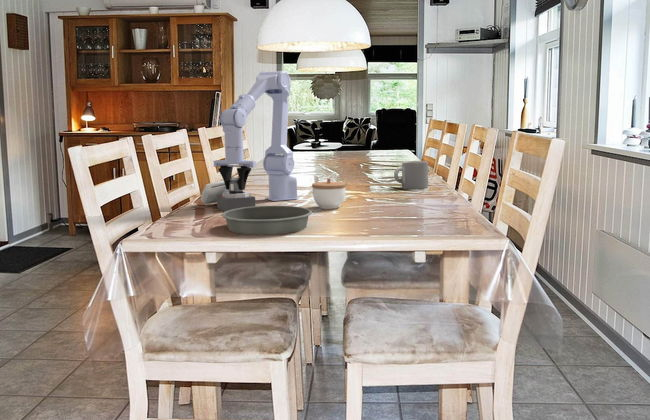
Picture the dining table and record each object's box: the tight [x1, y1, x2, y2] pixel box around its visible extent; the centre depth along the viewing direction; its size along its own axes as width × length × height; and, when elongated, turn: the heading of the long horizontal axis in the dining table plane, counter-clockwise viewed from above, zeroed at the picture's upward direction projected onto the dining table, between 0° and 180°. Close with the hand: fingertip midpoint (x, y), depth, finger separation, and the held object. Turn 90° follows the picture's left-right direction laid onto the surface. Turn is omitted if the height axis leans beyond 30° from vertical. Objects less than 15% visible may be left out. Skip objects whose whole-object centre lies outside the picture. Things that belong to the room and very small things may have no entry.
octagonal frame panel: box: [216, 190, 256, 212], centre depth 229 cm, size 10×9×5 cm
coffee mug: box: [393, 160, 429, 190], centre depth 275 cm, size 13×10×10 cm
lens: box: [229, 176, 244, 194], centre depth 228 cm, size 4×4×6 cm
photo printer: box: [200, 180, 229, 205], centre depth 236 cm, size 10×4×12 cm
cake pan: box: [221, 205, 313, 235], centre depth 195 cm, size 25×25×4 cm
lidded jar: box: [311, 177, 347, 210], centre depth 228 cm, size 11×11×9 cm
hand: (235, 189), depth 228 cm, fingers closed on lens, 4 cm apart
